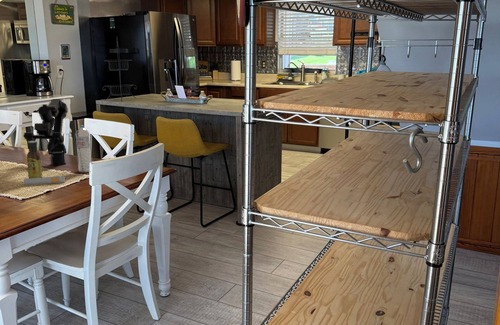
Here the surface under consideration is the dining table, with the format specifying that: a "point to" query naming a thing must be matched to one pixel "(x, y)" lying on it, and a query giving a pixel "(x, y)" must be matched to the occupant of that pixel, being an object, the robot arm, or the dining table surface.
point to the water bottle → (83, 149)
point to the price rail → (44, 180)
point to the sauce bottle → (34, 161)
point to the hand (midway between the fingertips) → (40, 151)
